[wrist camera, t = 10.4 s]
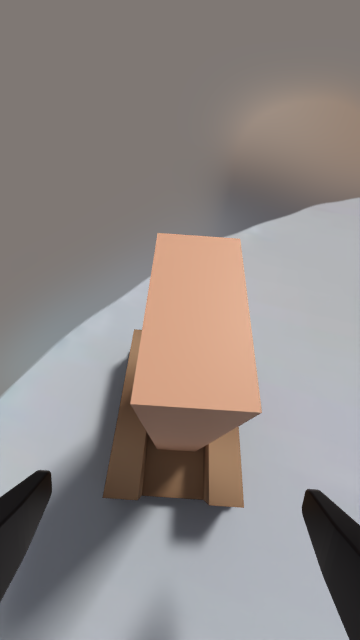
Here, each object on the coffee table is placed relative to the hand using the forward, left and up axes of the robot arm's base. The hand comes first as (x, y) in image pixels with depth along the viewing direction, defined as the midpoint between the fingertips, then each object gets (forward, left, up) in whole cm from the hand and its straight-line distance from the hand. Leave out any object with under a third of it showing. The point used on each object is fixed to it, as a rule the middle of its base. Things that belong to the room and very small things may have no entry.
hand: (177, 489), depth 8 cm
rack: (+4, +1, -8) cm, 9 cm away
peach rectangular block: (+4, +1, -8) cm, 9 cm away
